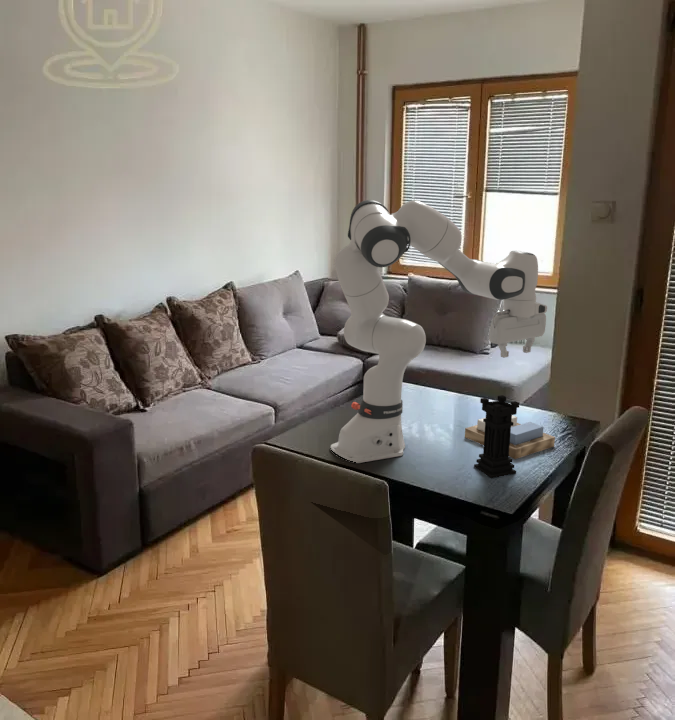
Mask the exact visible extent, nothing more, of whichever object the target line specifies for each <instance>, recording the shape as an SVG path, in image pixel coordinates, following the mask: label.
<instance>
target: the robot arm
mask: <svg viewBox="0 0 675 720" xmlns="http://www.w3.org/2000/svg"><path fill="white" fill-rule="evenodd" d="M347 237H348V239H349V240H350V243H349V244H348V245H346V246H344V247H343V248H341V249H340V250H339V251H337V253H336V255H335V257H334V269H335V272H336V277H337V280H338V283H339V285H340V287H341V290H342V293H343V295H344V298H345V299H346V302H347V305H348V307H349V310H350V314H351V315H350V317H349V316H348V318H347V320H346V321H345V323H344V327H343V336H344V340H345V342H346V343H347V344H348V346H351V347H353V348H355V349H357V350H360V351H363V352H368V353H372V354H377V355H378V363H377V364H376V365H374V366H372V367H370V368H368V369H367V371H366V372H365V373H364V375H363V390H362V391H363V393H362V394H363V398H362V399H361V401H360V403H358V402H356V401H353V402H352V403H351V404H350V405H351V408H352V409H353V410H356V411H357V413H356V414H355V415H354V416H353V417H352V418H351V419H350V420H349V421H348V422H347V423H346V424H344V426H343V427H341V429H340V431H339V435H338V439H337V440H338V441H337V442H335V443H334V442H333V443H332V444H330V448H331V449H330V451H331V450H332V451H333V452H335V453H336V454H338V455H339V456H341V457H343V458H345V459H347V460H350V461H353V462H352V463H354V462H356V463H355V464H361V463H365V462H372V461H373V462H374V461H378V460H384V459H390V458H395V457H401V456H402V457H403V455H404V450H405V448H406V443H405V439H404V433H403V425H402V414H403V409H404V408H403V406H404V405H403V403H404V402H403V399H402V392H403V389H402V388H403V379H404V375H405V374H404V373H405V371H406V369H407V368H408V366H409V364H410V363H411V362H412V361H413V360H415V359H416V358H417V357H418V356H420V355H421V354H422V352H423V351H424V349H425V346H426V342H427V336H426V333H425V330H424V328H423V326H421V325H420V324H418V323H416V322H414V321H411V320H408V319H405V318H399V317H393V316H389V315H388V316H387V315H385V313H383V312H384V311H385V310H386V309H387V307H388V305H389V303H390V302H389V301H390V300H389V299H390V295H389V292H388V289H387V286H386V284H385V282H384V280H383V277H382V274H381V272H380V269H379V268H387V267H389V266H391V265H393V264H395V263H396V262H398V261H399V259H401V258H402V256H403V254H405V253H406V252H408V251H409V249H410V247H412V248H414V250H416V251H418V252H419V253H421V254H423V256H425V257H426V258H429V259H430V260H432V261H434V262H437V263H438V264H439V265H441V267H443V268H444V269H445V270H446V271H448V273H450V274H451V275H452V276H454V278H455V279H456V281H457V282H458V284H459V286H460V287H461V289H462V291H464V292H465V293H467V294H469V295H473V296H480V297H484V298H488V299H493V300H496V301H499V300H500V301H502V300H503V307H502V308H503V310H498V311H496V312H495V314H494V315H493V316H492V319H491V322H490V327H489V333H488V340H489V342H490V343H491V344H496V345H497V346H498V349H499V350H500V357H501V358H509V353H510V351H509V350H507V346H508V343H513V342H517V341H523V340H526V342H525V344H524V345H522V353H526V354H529V353H531V351H532V346H533V344H534V342H535V339H536V338H537V337H538V338H539V337H542V336H544V334H545V332H546V327H547V326H546V325H547V316H546V313H547V310H548V306H547V305H546V304H543V303H539V302H537V295H536V288H537V285H538V280H539V278H538V277H539V261H538V258H537V256H536V255H535V254H534V253H531V252H526V251H521V250H510V251H509V253H508V255H507V256H506V257H505V258H504V259H502V260H501V261H498V262H496V263H494V262H493V263H492V262H488V261H484V260H480V259H476V258H475V259H473V258H469V257H468V256H467V255H466V254H465V253H463V252H462V251H461V250H460V247H461V244H462V240H463V239H462V237H463V236H462V231H461V230H460V229H459V227H458V226H457V225H456V224H455V223H454V222H453V221H452V220H451V219H449V218H448V217H447V216H445V215H444V214H443V213H441V211H438V210H437V209H436V208H435V207H434V208H433V207H432V206H430V205H428V204H426V203H424V202H422V201H419V200H415V199H414V200H409V201H407V202H404V203H403V204H402V205H401V206H400V208H399V209H398V211H396V212H393V213H390V212H389V210H388V208H387V207H386V206H385V205H384V204H382V203H381V202H379V201H377V200H374V199H365V200H362V201H360V202H358V204H356V205H355V206H354V207H353V209H352V211H351V214H350V219H349V227H348V232H347ZM332 451H331V452H332ZM333 452H332V453H333ZM347 460H346V461H347ZM350 461H349V462H350Z"/></svg>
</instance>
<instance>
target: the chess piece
mask: <svg viewBox="0 0 675 720" xmlns="http://www.w3.org/2000/svg"><path fill="white" fill-rule="evenodd" d="M479 403H480V404H481V410H482V411H483V412H485V417H484V418H485V419H483V422H485V435H484V446H483V452H482V453H479V454H478V458H476V460H475V461H476V463H475V464H474V465H473V468H475V469H476V470H478V471H479V472H480V473H482V474H483V475H485V476H487V477H489V478H490V479H497V478H501V477H505V476H506V477H507V476H511V475H516V474H517V471H516V470H515V464H513V461H514V459H513V458H511V457H509V446H510V433H511V426H513V422H511V420H512V415H513V416H515V415H517V414H518V413H517V411H518V408H520V402H518V401H510V403H509V402H507V396H506V395H497V400H494V401H493V400H492V401H490V399H489V398H487V397H481V398H480V399H479Z"/></svg>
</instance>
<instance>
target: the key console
mask: <svg viewBox="0 0 675 720" xmlns="http://www.w3.org/2000/svg"><path fill="white" fill-rule="evenodd" d="M517 425H521V423H519V422H517ZM484 435H485V432H483V431H481V430H478V429H477V424H475V425H472V426H468V427H465V429H464V438H466V439H468V440H470V441H472V442H475V443H477V444H478V445H481V446H483V447H484ZM555 442H556V436H553V435H551V434H548V433H546V432H543V436H542V437H538V438H535V439H532V440H529V441H526V442H522V443H519V444H516V445H515V444H512V443H510V446H509V457H510V458H511V459H513V460H517V459H520V458H525V457H527V456H529V455H532V454H535V453H538V452H542V451H545V450H547V449H550V448H554V447H555Z"/></svg>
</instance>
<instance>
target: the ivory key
mask: <svg viewBox="0 0 675 720" xmlns="http://www.w3.org/2000/svg"><path fill="white" fill-rule="evenodd" d="M485 418H486V417H483V418H480V419H477V422H476V423H477V424H476V425H477V429H478V430H481V431H483V432H485V422H483V419H485ZM511 422H513V426H511V427H514V426H517V423H518V416H515V415H512V420H511Z"/></svg>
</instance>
